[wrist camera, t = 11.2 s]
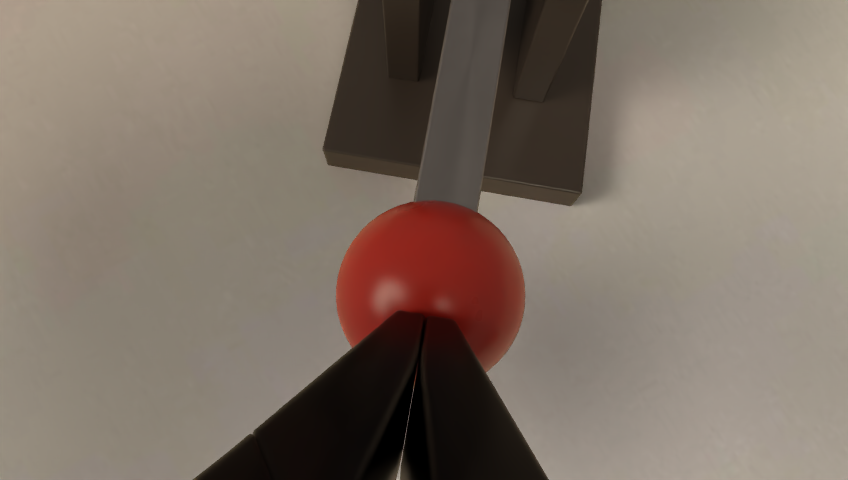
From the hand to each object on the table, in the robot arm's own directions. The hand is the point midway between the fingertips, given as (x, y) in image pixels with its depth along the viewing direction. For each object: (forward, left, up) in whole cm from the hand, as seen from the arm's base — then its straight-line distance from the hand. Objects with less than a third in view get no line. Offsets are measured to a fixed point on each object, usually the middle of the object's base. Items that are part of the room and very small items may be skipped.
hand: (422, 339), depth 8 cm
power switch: (+3, +5, -3) cm, 6 cm away
